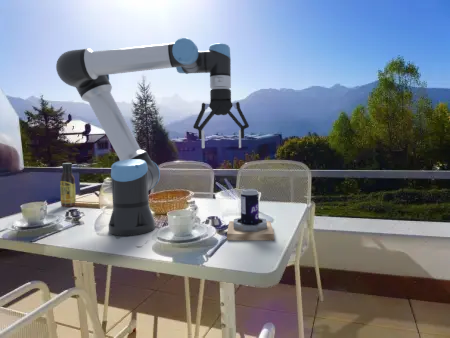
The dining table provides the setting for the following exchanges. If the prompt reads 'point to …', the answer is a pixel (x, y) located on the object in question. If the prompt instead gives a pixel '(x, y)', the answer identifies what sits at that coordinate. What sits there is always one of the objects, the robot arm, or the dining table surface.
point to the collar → (250, 226)
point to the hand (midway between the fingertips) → (221, 147)
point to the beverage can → (249, 206)
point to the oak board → (250, 233)
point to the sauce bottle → (67, 186)
